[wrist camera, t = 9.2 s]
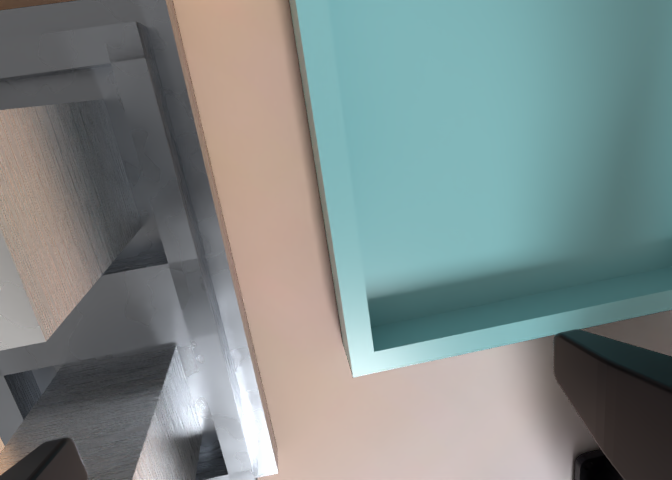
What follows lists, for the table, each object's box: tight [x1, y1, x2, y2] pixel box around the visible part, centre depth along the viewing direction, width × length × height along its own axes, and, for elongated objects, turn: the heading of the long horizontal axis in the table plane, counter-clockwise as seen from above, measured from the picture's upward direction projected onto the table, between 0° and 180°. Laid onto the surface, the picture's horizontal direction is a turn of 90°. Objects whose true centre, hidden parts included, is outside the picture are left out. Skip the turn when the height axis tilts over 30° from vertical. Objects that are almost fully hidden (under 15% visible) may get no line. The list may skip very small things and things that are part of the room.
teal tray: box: [289, 0, 672, 377], centre depth 18 cm, size 18×18×2 cm
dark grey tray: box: [0, 0, 278, 480], centre depth 18 cm, size 20×10×3 cm, turn 8°
